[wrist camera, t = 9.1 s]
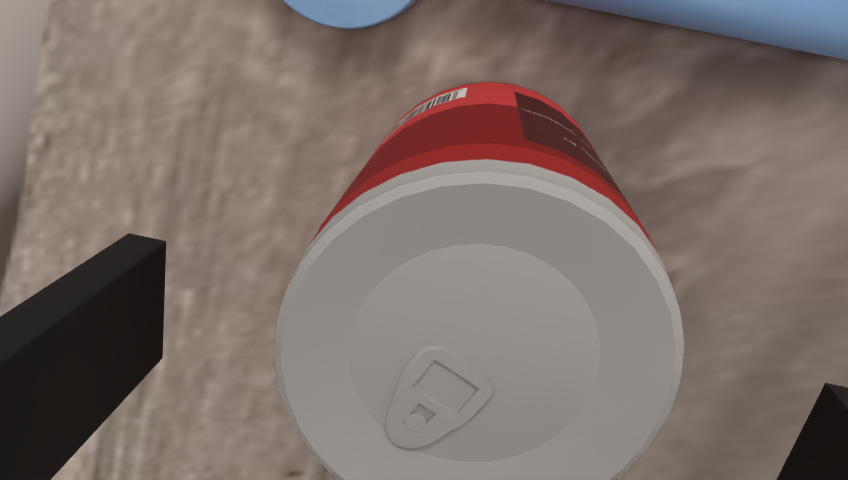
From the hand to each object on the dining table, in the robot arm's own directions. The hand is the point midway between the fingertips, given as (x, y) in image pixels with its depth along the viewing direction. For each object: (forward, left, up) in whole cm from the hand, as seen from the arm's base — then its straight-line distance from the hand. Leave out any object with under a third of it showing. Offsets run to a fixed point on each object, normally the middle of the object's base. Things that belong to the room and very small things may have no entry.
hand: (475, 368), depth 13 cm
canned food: (0, 0, -10) cm, 10 cm away
